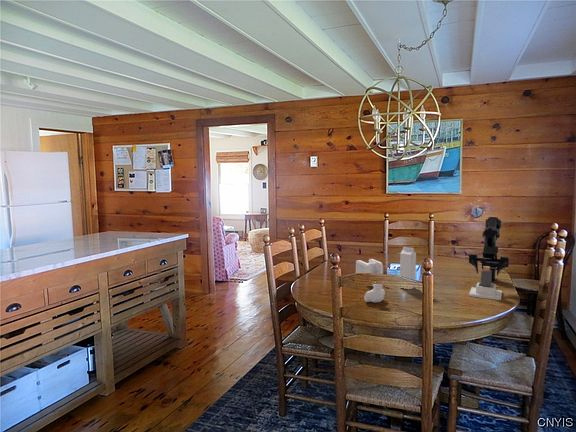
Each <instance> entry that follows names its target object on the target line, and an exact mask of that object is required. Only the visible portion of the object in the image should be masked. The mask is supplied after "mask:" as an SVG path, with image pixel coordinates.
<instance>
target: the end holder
mask: <svg viewBox="0 0 576 432" xmlns="http://www.w3.org/2000/svg"><path fill="white" fill-rule="evenodd" d="M496 288H497V284H495V283H491V287H482V286H481V282H477V283H476V286H475V287H474V286H471V288H470V291H469V293H468V297H471V298H472V297H473V298H481V299H488V300H496V301H501V300H502V295H503V291H502V289H496Z"/></svg>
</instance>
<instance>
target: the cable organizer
mask: <svg viewBox="0 0 576 432" xmlns="http://www.w3.org/2000/svg"><path fill="white" fill-rule="evenodd" d="M356 273H371V274H383V275H384V265H383V262H381V261H379V260H376V259H374V258H369V259H368V262H365V261H364V260H361V259H358V260H355V274H356Z"/></svg>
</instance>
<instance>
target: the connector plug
mask: <svg viewBox="0 0 576 432" xmlns="http://www.w3.org/2000/svg"><path fill="white" fill-rule="evenodd" d="M491 272H492V270H490V266H484V267H483V269H482V268H481V274H480V283H481V286H482V287H491V284H492V281H491Z"/></svg>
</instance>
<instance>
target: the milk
mask: <svg viewBox="0 0 576 432" xmlns="http://www.w3.org/2000/svg"><path fill="white" fill-rule="evenodd" d="M399 260H400V261H399V277H400V276H404V277H407V278H410V279H414V280H415V281H416V271H417V269H416V267H417V265H416V264H417V252H416V251H415V250H414V247H411V246H410V247H409V246H403V247H402V250H401V251H400V255H399Z"/></svg>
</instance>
